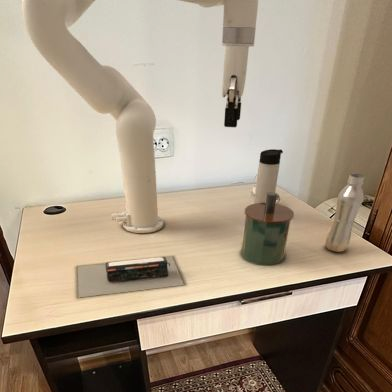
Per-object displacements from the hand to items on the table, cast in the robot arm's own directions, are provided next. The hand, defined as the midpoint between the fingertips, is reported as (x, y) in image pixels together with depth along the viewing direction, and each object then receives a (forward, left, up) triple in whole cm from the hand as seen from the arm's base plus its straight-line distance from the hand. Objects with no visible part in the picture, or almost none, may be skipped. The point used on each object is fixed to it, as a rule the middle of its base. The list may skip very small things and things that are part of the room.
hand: (232, 123), depth 96 cm
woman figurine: (+21, +20, -28) cm, 41 cm away
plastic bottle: (+27, -21, -28) cm, 45 cm away
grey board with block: (-32, -24, -28) cm, 49 cm away
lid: (+5, -20, -17) cm, 27 cm away
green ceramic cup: (+5, -20, -28) cm, 35 cm away
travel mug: (+15, +6, -28) cm, 33 cm away
